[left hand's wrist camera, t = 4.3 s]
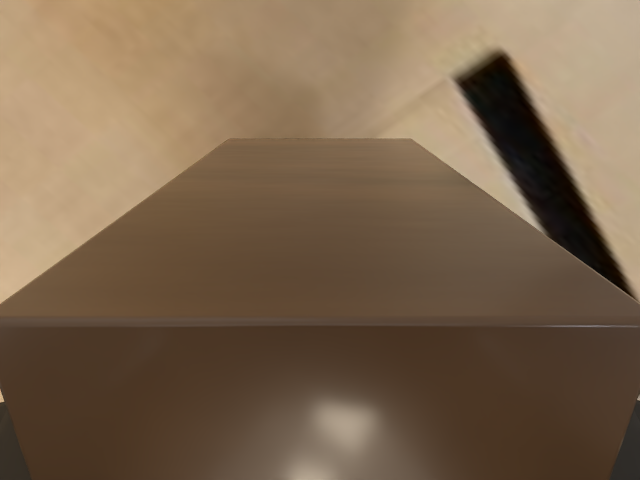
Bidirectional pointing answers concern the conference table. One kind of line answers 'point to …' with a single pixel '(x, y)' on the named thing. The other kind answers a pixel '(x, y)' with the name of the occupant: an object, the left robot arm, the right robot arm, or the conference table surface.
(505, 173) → the conference table surface
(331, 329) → the box
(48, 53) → the conference table surface
